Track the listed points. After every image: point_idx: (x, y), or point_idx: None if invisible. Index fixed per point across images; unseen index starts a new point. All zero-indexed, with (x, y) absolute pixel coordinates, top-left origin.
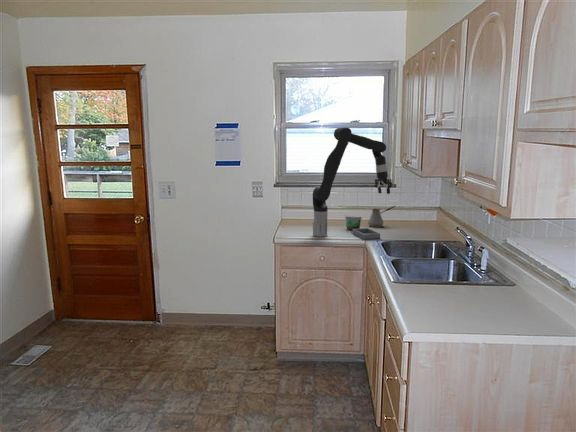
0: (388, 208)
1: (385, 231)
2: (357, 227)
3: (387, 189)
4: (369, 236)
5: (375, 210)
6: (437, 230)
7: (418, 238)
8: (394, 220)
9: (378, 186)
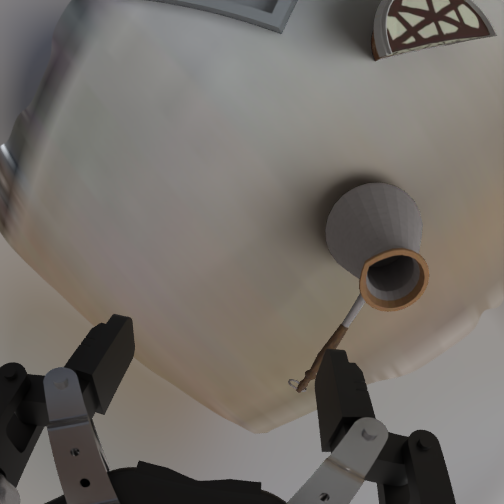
0: None
1: (236, 145)
2: (373, 32)
3: (82, 364)
4: None
5: (382, 252)
6: None
7: (56, 158)
8: None
9: (346, 455)
